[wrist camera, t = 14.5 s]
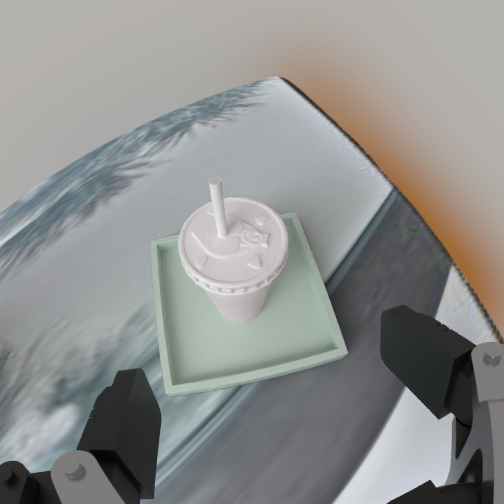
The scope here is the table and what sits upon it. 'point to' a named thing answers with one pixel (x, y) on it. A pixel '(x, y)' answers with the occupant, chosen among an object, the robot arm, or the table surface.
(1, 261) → the table surface
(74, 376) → the table surface
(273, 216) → the smoothie
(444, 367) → the robot arm
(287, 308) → the tray
